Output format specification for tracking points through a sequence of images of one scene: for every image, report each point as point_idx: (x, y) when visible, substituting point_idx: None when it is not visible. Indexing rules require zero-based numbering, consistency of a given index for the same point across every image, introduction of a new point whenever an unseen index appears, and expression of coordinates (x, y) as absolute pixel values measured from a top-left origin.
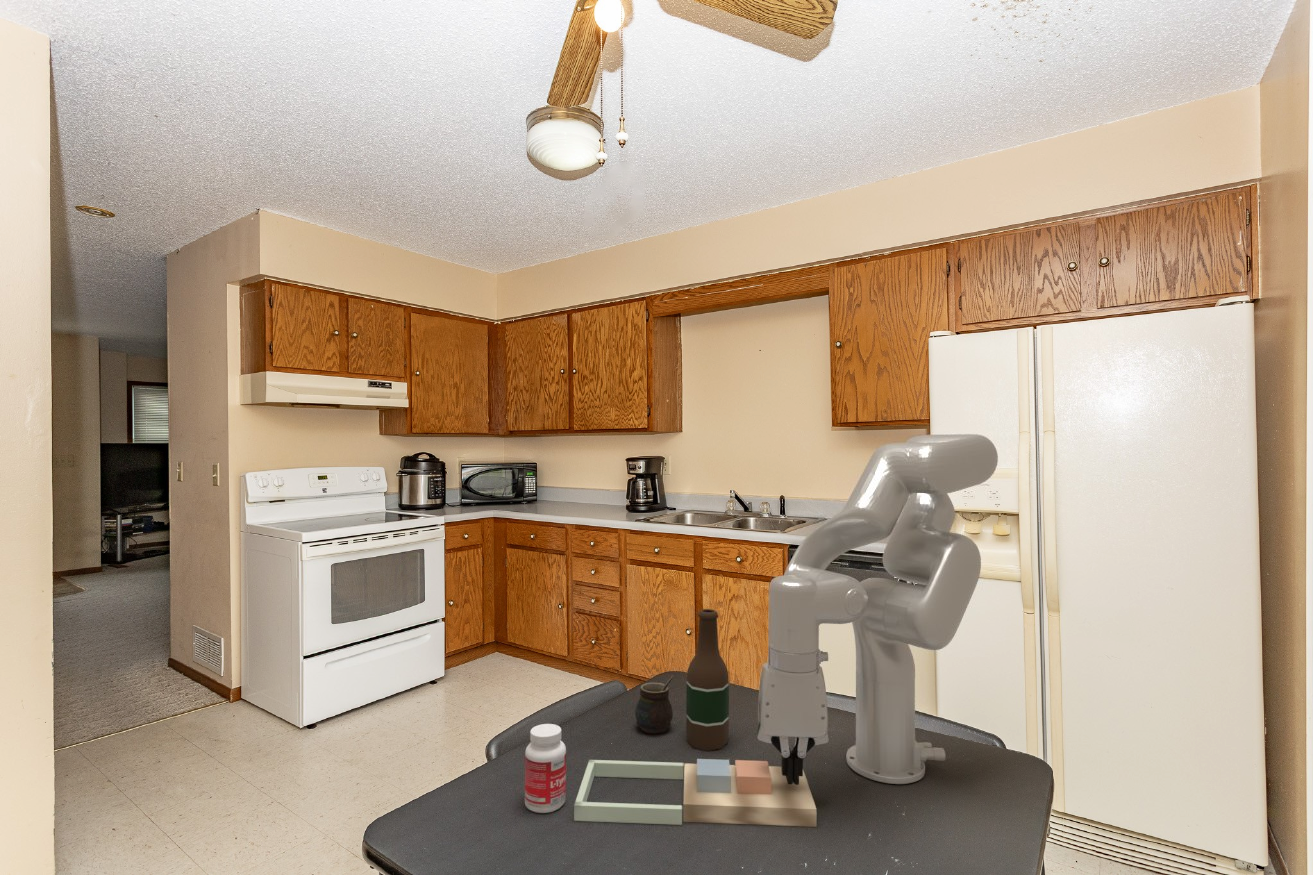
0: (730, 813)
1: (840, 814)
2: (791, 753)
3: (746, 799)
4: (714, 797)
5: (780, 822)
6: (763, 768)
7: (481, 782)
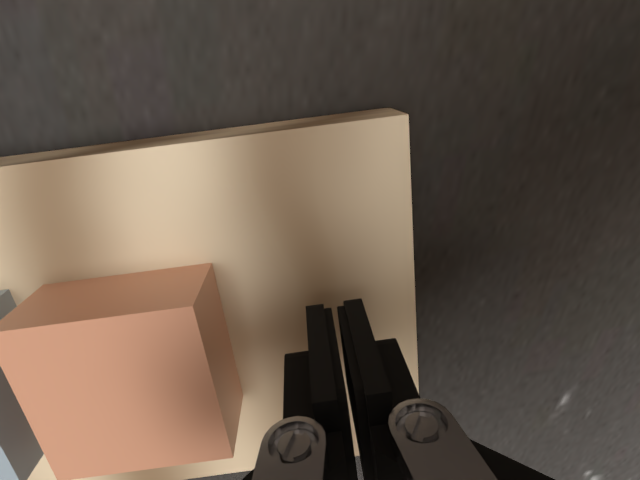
0: None
1: (503, 317)
2: (354, 396)
3: None
4: None
5: None
6: (180, 387)
7: None
